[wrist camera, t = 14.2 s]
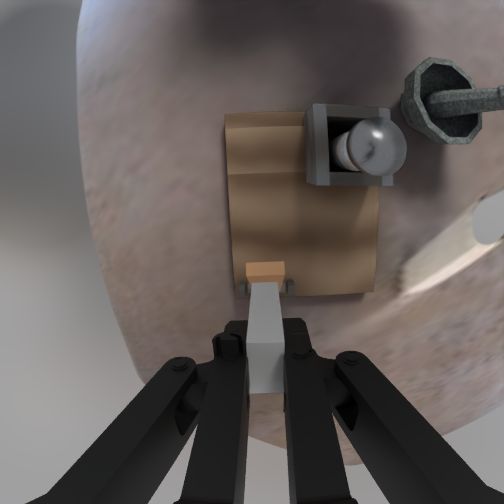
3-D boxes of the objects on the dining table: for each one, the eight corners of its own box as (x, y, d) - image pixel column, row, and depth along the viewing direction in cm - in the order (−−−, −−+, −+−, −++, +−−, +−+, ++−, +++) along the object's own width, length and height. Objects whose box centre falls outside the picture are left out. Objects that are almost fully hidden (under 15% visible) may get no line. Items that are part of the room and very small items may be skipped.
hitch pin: (349, 138, 30) (405, 119, 16) (350, 173, 31) (407, 177, 17) (314, 137, 30) (350, 114, 16) (315, 173, 31) (353, 175, 18)
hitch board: (226, 117, 30) (215, 101, 22) (369, 117, 29) (398, 104, 21) (237, 291, 35) (230, 324, 27) (367, 285, 34) (392, 315, 27)
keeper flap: (237, 262, 22) (238, 277, 22) (292, 260, 22) (293, 275, 21) (248, 284, 33) (248, 294, 32) (284, 282, 32) (284, 292, 32)
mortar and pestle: (394, 147, 30) (451, 141, 18) (378, 72, 27) (426, 36, 16) (464, 145, 29) (526, 144, 17) (450, 77, 26) (507, 56, 15)
